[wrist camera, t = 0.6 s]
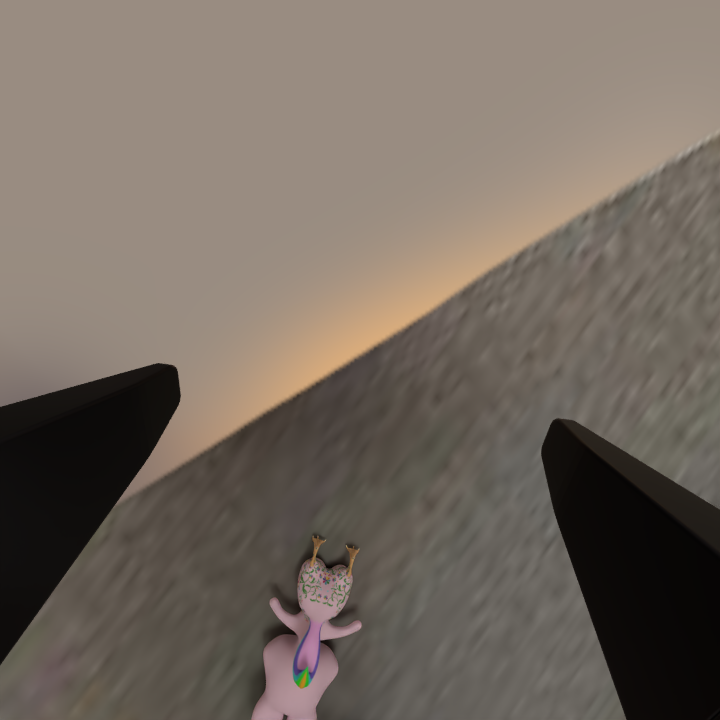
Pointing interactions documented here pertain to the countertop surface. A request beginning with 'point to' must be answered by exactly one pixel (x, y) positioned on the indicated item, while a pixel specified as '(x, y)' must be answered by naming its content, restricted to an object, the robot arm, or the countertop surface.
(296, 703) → the pink creature figurine
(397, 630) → the countertop surface
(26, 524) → the robot arm
